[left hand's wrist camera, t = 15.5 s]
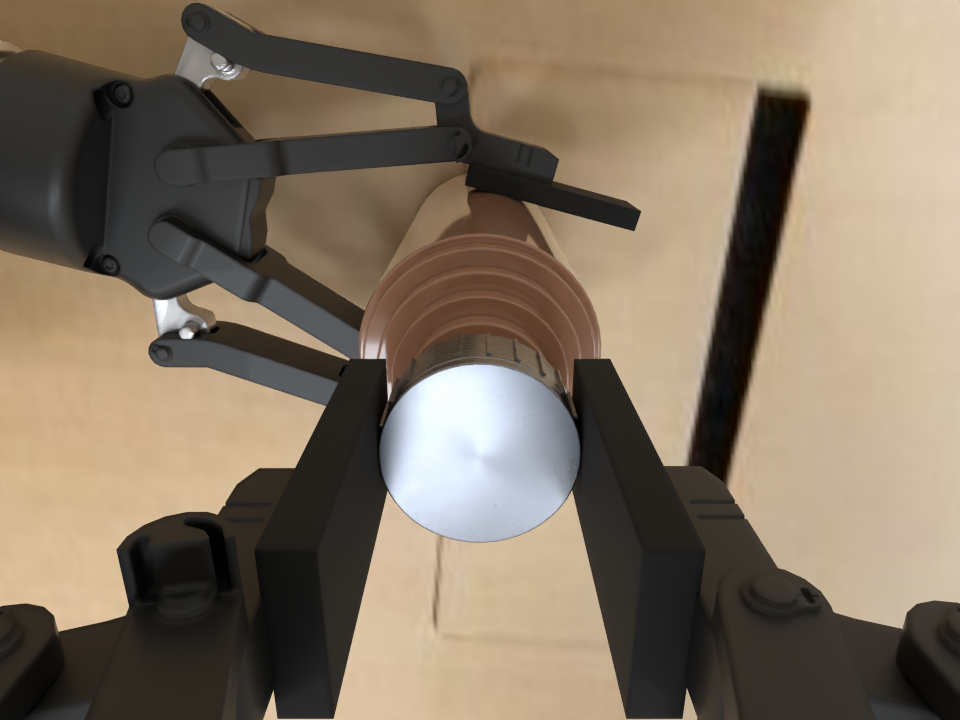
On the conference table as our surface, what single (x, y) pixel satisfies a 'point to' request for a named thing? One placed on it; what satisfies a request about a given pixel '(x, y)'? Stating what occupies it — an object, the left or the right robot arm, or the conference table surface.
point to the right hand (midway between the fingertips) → (599, 302)
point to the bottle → (479, 284)
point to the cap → (479, 439)
